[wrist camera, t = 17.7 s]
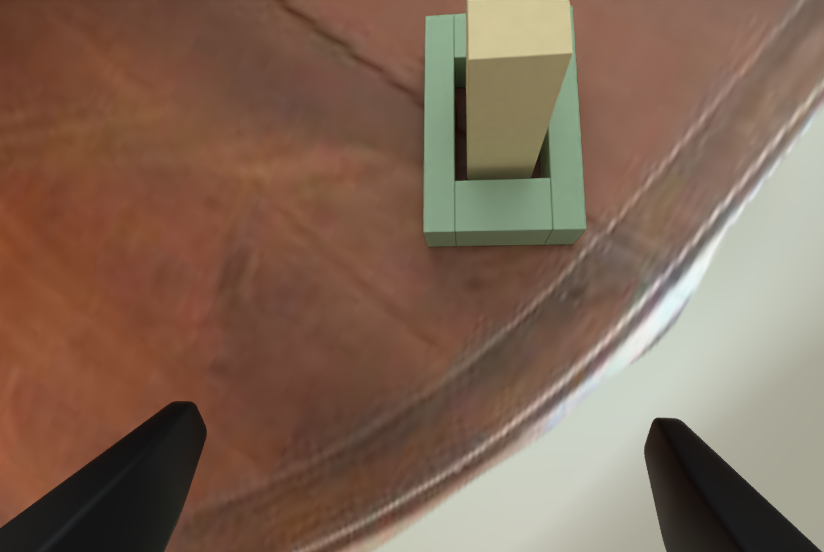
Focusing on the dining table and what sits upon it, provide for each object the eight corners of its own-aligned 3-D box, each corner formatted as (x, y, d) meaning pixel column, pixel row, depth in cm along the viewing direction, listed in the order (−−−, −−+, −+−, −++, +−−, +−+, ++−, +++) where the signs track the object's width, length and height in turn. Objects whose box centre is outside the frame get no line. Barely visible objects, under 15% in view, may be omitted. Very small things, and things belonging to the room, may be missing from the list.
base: (573, 244, 22) (586, 229, 20) (427, 246, 23) (423, 232, 21) (562, 41, 25) (572, 5, 22) (429, 49, 25) (425, 15, 23)
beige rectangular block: (528, 186, 23) (573, 53, 14) (467, 188, 24) (468, 59, 14) (524, 95, 24) (563, -91, 14) (465, 98, 25) (466, -81, 15)
